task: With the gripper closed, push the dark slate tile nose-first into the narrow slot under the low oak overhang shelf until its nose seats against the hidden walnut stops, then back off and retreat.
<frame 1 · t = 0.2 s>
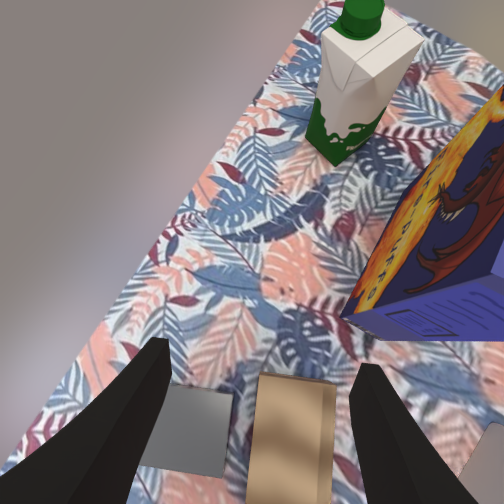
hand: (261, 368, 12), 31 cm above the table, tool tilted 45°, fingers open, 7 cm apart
cereal box: (392, 261, 45), on the table
milk carton: (335, 140, 50), on the table
soap bottle: (485, 473, 38), on the table
slate tile: (183, 422, 40), on the table
oak overhang shelf: (292, 440, 39), on the table
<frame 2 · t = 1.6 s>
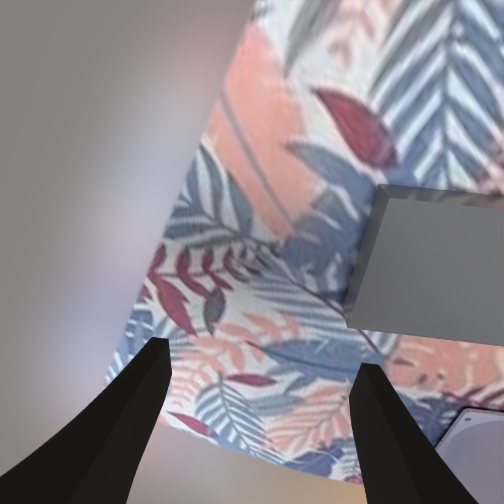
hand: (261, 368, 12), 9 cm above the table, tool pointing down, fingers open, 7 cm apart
slate tile: (453, 259, 20), on the table
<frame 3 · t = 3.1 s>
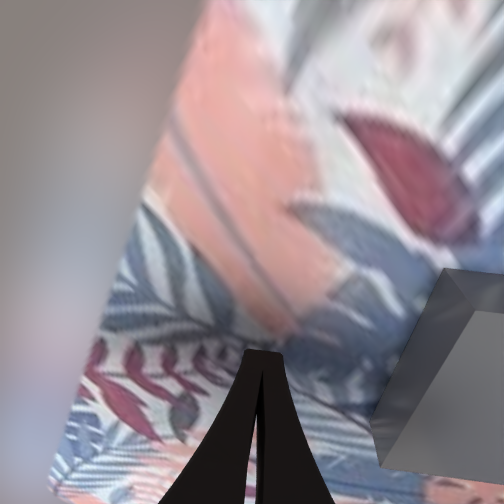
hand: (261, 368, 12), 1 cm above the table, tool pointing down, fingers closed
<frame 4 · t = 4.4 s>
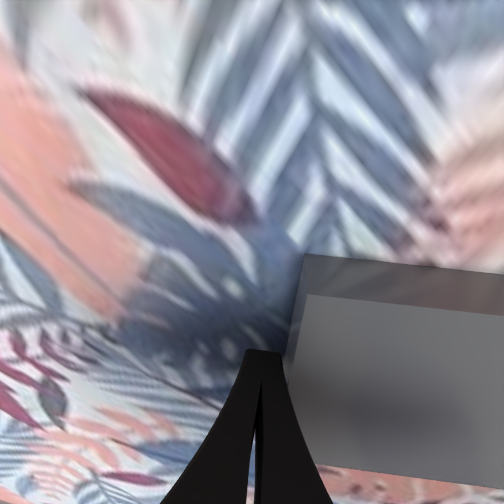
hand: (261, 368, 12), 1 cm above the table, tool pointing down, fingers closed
slate tile: (434, 356, 13), on the table, touching gripper
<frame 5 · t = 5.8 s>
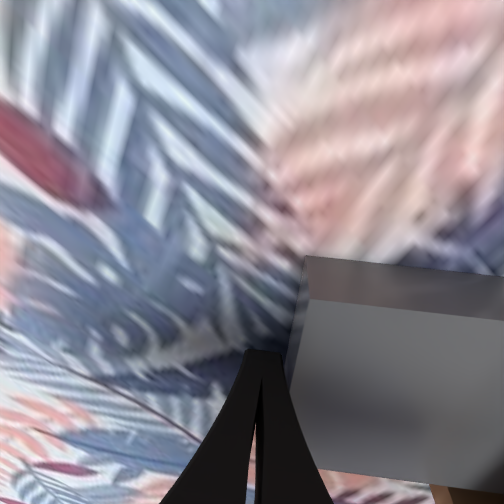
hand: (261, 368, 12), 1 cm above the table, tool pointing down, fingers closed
slate tile: (435, 360, 13), on the table, touching gripper
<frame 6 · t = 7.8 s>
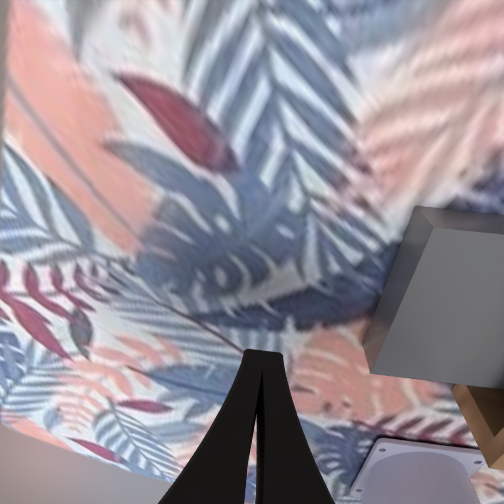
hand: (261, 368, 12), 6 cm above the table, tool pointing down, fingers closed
slate tile: (497, 292, 17), on the table
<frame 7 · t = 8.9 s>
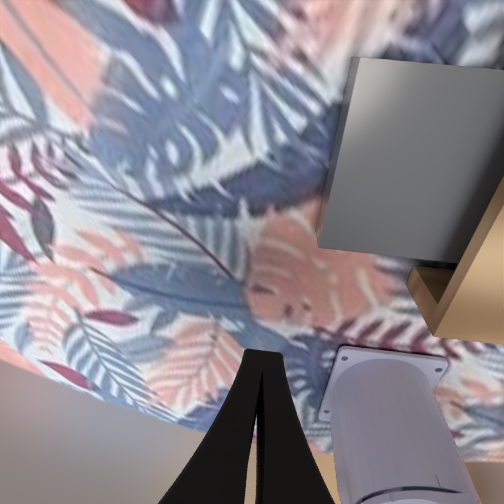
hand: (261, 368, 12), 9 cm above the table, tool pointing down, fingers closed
slate tile: (441, 165, 17), on the table
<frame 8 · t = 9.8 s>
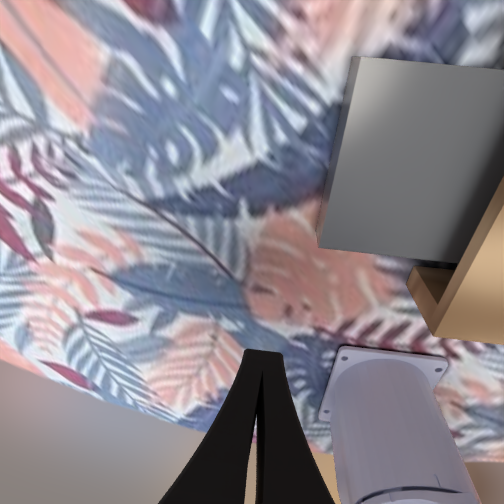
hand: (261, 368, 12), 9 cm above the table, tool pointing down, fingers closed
slate tile: (441, 165, 17), on the table
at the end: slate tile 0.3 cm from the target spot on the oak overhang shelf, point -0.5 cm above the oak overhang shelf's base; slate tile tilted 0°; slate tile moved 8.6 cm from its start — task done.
